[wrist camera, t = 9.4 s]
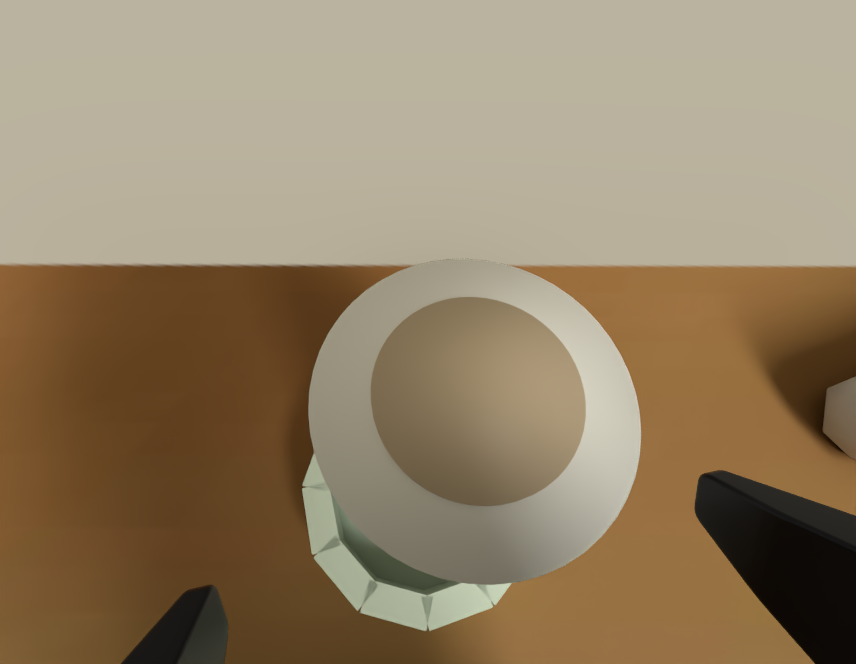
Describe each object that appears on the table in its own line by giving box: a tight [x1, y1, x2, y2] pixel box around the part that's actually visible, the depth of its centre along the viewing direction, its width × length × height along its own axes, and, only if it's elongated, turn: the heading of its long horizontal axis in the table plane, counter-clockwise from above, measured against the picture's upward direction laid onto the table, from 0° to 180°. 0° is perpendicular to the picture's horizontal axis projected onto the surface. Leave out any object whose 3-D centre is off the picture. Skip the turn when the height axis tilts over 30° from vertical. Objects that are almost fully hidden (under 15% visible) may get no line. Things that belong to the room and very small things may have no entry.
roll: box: [308, 259, 641, 585], centre depth 12 cm, size 5×5×13 cm
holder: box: [302, 453, 511, 631], centre depth 17 cm, size 9×9×2 cm
